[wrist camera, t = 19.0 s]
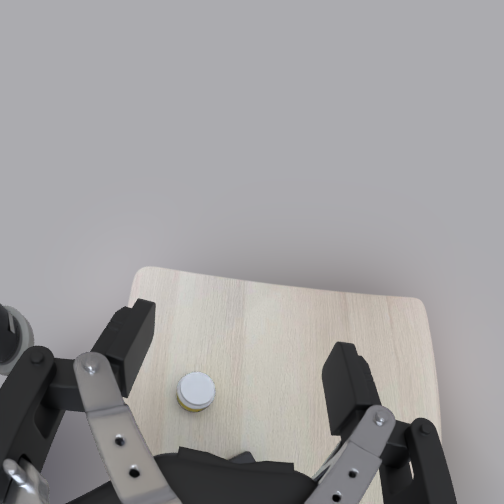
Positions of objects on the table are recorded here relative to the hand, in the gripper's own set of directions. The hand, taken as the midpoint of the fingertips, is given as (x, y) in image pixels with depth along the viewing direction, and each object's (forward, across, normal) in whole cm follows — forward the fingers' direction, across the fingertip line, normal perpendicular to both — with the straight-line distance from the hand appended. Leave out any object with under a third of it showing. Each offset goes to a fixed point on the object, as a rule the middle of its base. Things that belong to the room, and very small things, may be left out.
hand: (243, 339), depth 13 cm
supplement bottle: (+16, +2, +27) cm, 31 cm away
